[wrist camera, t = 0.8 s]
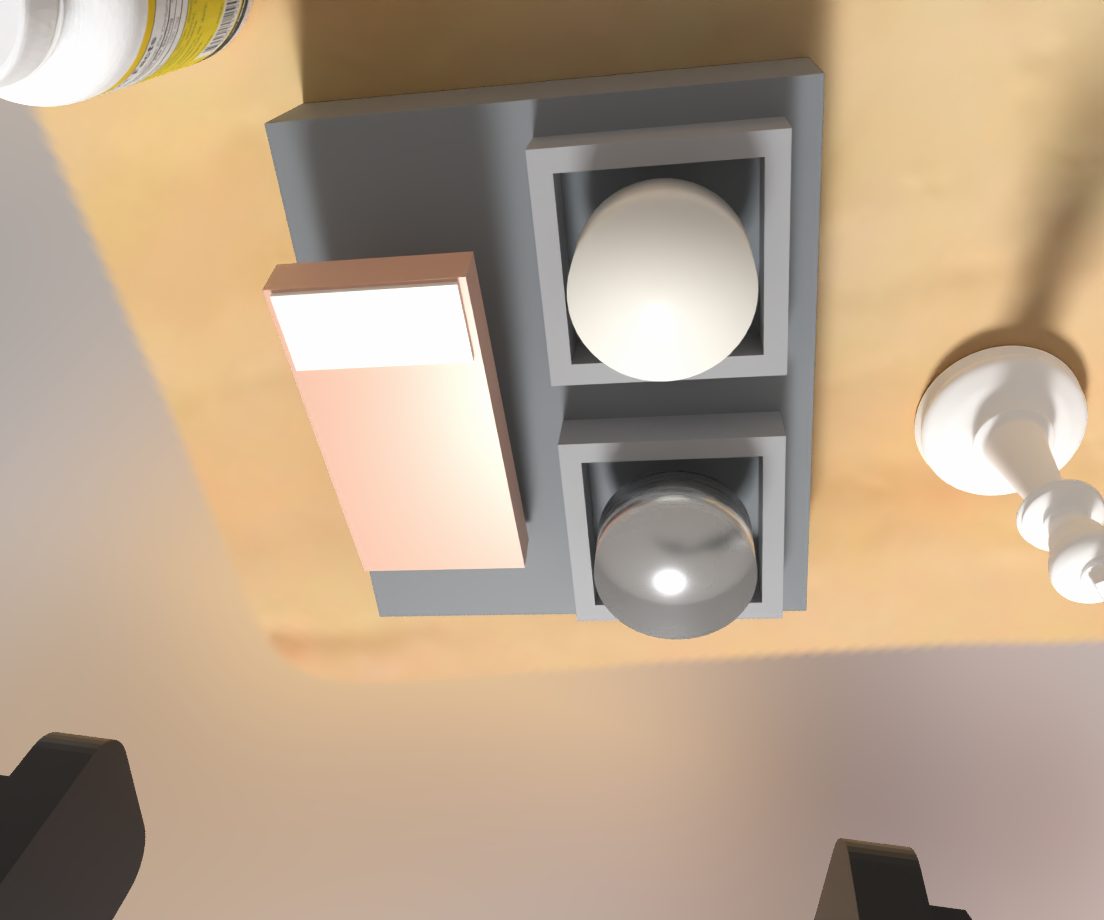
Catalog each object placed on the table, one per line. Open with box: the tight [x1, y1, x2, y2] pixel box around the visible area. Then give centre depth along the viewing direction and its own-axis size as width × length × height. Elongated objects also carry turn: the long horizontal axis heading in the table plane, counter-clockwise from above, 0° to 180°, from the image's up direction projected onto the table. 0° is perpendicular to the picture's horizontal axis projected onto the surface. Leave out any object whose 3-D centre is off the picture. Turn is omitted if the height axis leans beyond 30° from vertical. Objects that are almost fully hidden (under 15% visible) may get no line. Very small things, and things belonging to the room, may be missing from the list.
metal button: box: [594, 469, 757, 639], centre depth 27 cm, size 4×4×2 cm
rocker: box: [262, 251, 529, 571], centre depth 26 cm, size 5×10×1 cm, turn 6°
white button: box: [567, 178, 758, 381], centre depth 23 cm, size 4×4×2 cm
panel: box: [265, 57, 824, 621], centre depth 28 cm, size 14×16×4 cm
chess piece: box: [914, 346, 1104, 603], centre depth 26 cm, size 5×5×10 cm
